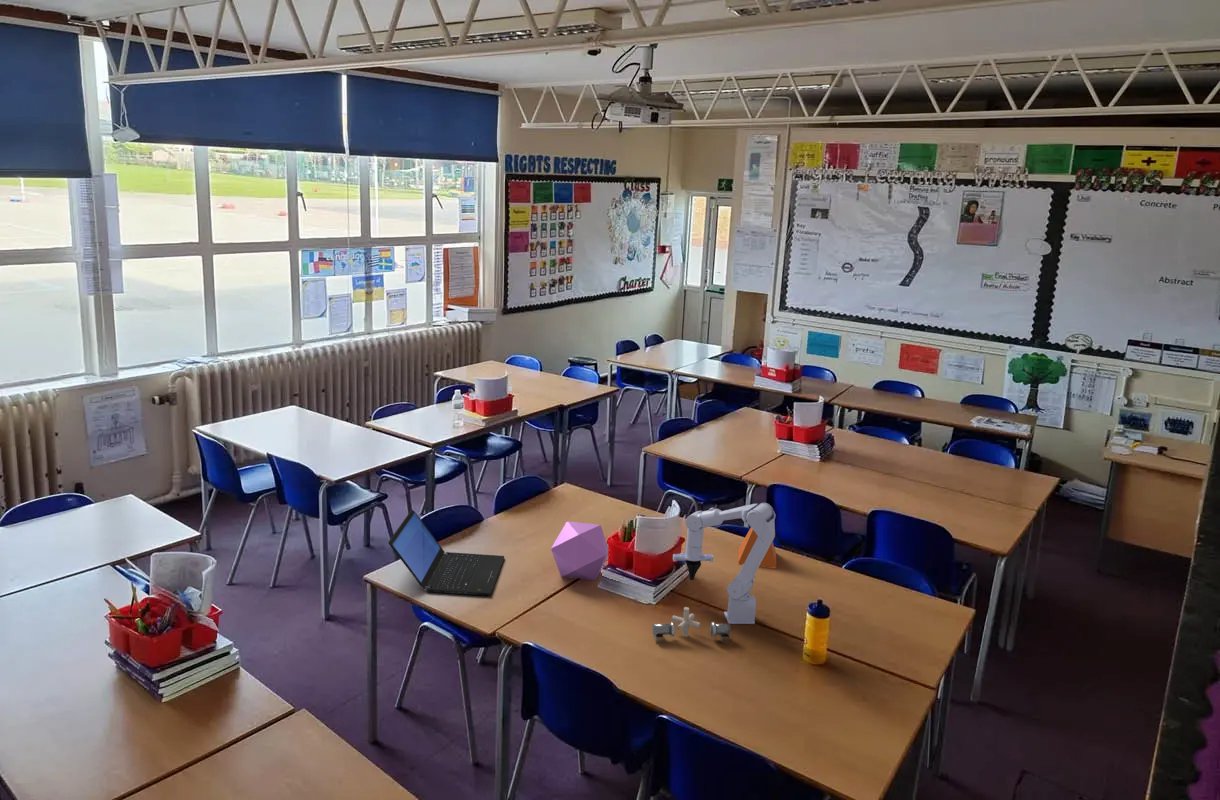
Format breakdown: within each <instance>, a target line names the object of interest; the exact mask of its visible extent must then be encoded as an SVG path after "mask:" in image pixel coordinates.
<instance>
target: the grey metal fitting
mask: <svg viewBox="0 0 1220 800" xmlns="http://www.w3.org/2000/svg"><path fill="white" fill-rule="evenodd" d="M675 623H676V622H675V621H670V622H669V623H652V626H651V627H652V628H651V629H652V635H653V638H654V642H655V644H664V636H670V637H673V638H675V635H676V625H675Z"/></svg>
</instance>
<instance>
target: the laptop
mask: <svg viewBox="0 0 1220 800" xmlns="http://www.w3.org/2000/svg"><path fill="white" fill-rule="evenodd" d="M388 545H389V546H390V548H391V549H392V550H393V552H394V553H395V554H396V555H397V557H398V558H399V559H400V560H401V562H402V563H403V564H404V566H405V567H406V569H408V571H409V572H410V574H411V575H412V576H413V578H415V580H416V581H417V583H418V584H419V586H420V587H421V588H422V589H423V590H426V591H427V592H432V593H443V594H444V593H445V594H457V595H458V594H460V595H474V596H475V595H476V596H489V597H490V596H492V593H493V591H494V588H495V585H496V582H497V580H498V577H499V574H500V572H501V569H502V566H503V563H504V561H505V555H497V554H495V555H494V554H479V553H469V552H467V553H465V552H453V551H452V552H451V551H446V552H445V550H444V549H443V547H442V546H441V545H440V543H439V542H438V541H437V539H436V538H435V537H434V535H433V534H432V533H431V531H430V530H429V528H428V527H427V526H426V524H425V523H424V521H423V520H422V518H421V517H420V516H419V515H418V514H417V513H416V511H415V510H413V509H411V510H410V511H409V512H408V514H407V516H406V517H405V518H404V519H403V521H402V522H401V524H400V525H399V526H398V528H397V529H396V530H395V532H394V533H393V535H392V536H391V538H390V539H389V540H388Z"/></svg>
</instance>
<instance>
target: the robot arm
mask: <svg viewBox="0 0 1220 800" xmlns="http://www.w3.org/2000/svg"><path fill="white" fill-rule="evenodd" d="M776 516H777V515H776V513H775V510H774V508H773V507H772V505H770V503H767V502H761V503H759V504H758V503H752V504H746V505H742V506H739V507H738V506H737V507H733V508H730V509H725V510H721V509H719V508H715V507H710V508H709V509H708V510H704V511H702V510H698V511H695V512H693V513H691V514H690V515H688V516H687V517H686V519H685V526H686V528H687V530H686V531H687V532H686V543H685V552H681V553H673V554H672V561H673V562H677V561H684V562H685V563H686V567H687V571H688V578H689V580H690V581H694V580H695V577H696V575H697V572H698V571H699V569H700V568H701V565H702V563H701V562H710V563H713V562H714V557H715V556H714V555H713V554H707V553H703V552H702V551H703V541H704V540H703V539H704V529H705V528H710V527H715V526H721V525H722V524H723V522H724V521H728V520H729V521H730V520H735V519H736V520H737V519H742V521H743V522H744V523H747V524H748V526H749V527H750V528H752V529H753V530H754V531H755V533H756V534H757V535H758V538H757V540H756V542H755V543H754V545H753V547H752V549H751V551H750V553H749V555H748V557H747V559H746V561H745V563H744V565H742V567H741V569H740V570H739V572H738V573H737V575H735V577H734V579H733V581H731V582H729V584H728V585H727V587H726V592H727V595H728V602H727V611H724V612H723V614H724V617H725V618H726V620H727V624H730V625H755V623H756V621H755V620H756V610H757V599H756V596H755V595H753V594H751V593H750V591H751V590H752V589H753V588H754V584H755V583H754V580H755V578H756V573H757V571H758V570H759V568H760V567H759V565H760V564H761V562H762V560H763V558H764V556H765V554H766V552H767V550H768V548H769V547H770V545H771V543H772V541H773V542H774V539H775V536H776V529H775V528H776V527H775V526H776V525H775V519H776Z"/></svg>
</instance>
